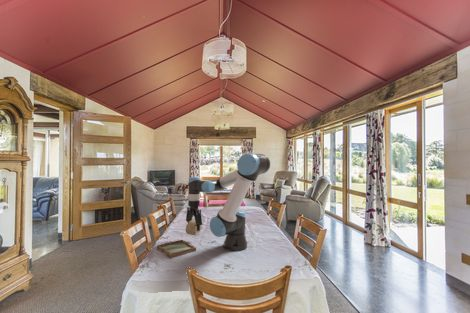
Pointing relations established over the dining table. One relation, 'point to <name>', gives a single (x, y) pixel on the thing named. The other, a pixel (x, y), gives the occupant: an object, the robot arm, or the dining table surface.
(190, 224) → the coral
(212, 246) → the dining table surface
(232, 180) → the robot arm
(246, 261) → the dining table surface
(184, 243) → the base
